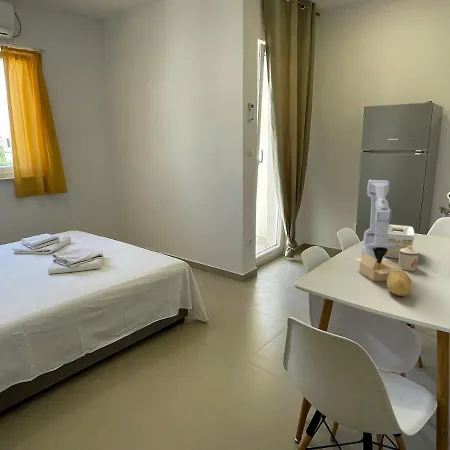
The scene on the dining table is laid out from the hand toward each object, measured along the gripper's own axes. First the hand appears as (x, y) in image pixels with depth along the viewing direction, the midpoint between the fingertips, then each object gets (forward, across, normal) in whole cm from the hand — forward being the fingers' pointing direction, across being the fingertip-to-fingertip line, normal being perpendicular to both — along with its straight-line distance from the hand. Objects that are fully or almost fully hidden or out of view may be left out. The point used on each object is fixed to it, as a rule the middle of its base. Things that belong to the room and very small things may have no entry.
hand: (378, 262), depth 174 cm
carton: (+7, +1, -1) cm, 7 cm away
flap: (-1, -5, 0) cm, 5 cm away
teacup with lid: (+7, +23, +8) cm, 25 cm away
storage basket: (+7, +32, +32) cm, 46 cm away
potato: (+7, -4, -21) cm, 23 cm away
